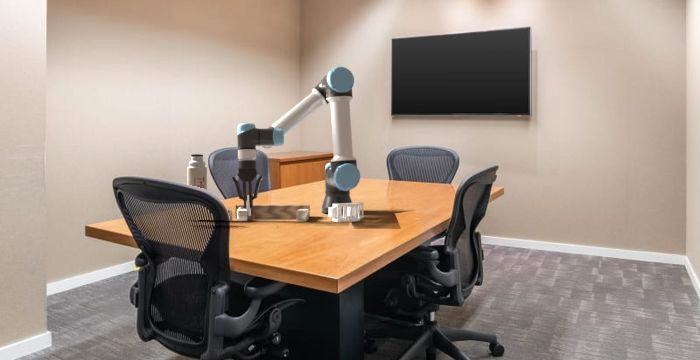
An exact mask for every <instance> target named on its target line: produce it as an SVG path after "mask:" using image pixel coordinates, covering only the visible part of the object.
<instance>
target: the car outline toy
mask: <svg viewBox="0 0 700 360" xmlns="http://www.w3.org/2000/svg"><path fill="white" fill-rule="evenodd" d="M364 206H365V202H352V203H337V204H332V207H329V213H328V218H332V219H331V220H332V222H337V223H344V222H345V223H346V222H348V223H349V222H350V223H351V222H359V221H361V219H364V217H365V216H364ZM342 207H343V213H342Z"/></svg>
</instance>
